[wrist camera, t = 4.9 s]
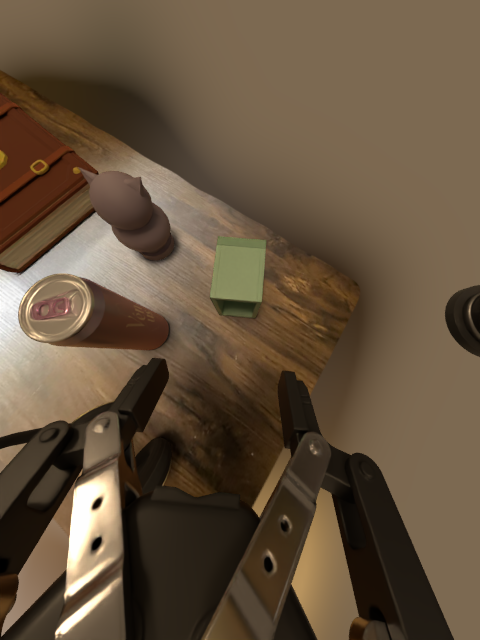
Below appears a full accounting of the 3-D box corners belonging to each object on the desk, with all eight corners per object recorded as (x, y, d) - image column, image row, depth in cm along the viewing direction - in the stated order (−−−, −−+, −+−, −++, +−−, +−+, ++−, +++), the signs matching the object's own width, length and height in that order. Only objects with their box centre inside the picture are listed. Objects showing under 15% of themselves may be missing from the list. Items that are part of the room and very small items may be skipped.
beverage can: (132, 318, 28) (15, 279, 14) (167, 310, 29) (91, 264, 14) (135, 354, 27) (13, 353, 13) (173, 345, 28) (95, 335, 13)
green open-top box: (255, 318, 28) (261, 302, 20) (219, 315, 28) (209, 297, 20) (258, 273, 30) (266, 239, 21) (224, 270, 30) (217, 236, 21)
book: (20, 115, 37) (-13, 79, 33) (116, 193, 33) (95, 166, 28) (-75, 180, 34) (-128, 151, 29) (18, 276, 30) (-25, 261, 25)
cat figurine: (126, 260, 31) (55, 201, 19) (140, 222, 32) (82, 146, 20) (173, 268, 30) (129, 214, 18) (184, 230, 32) (151, 156, 20)
